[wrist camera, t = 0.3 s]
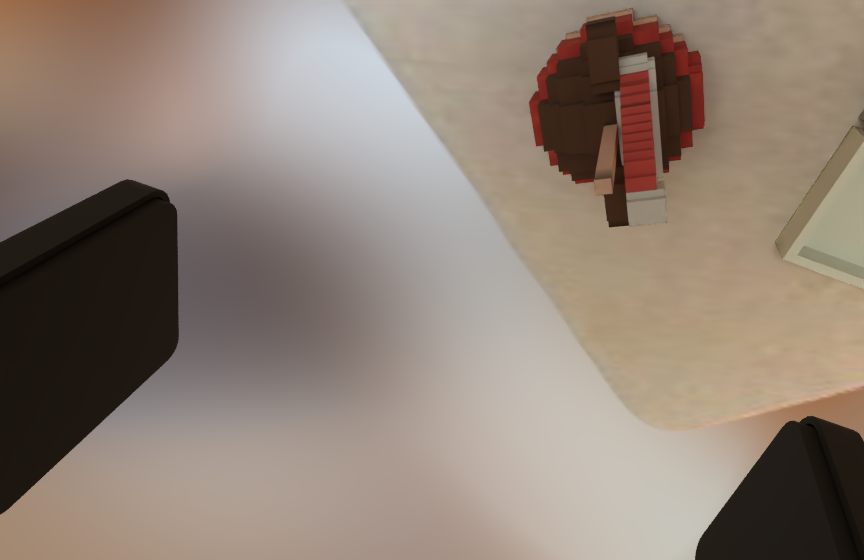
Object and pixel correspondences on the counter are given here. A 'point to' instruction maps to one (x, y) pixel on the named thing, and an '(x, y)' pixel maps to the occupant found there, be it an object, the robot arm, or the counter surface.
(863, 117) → the slate board
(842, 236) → the sage bin
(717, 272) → the counter surface
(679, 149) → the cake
